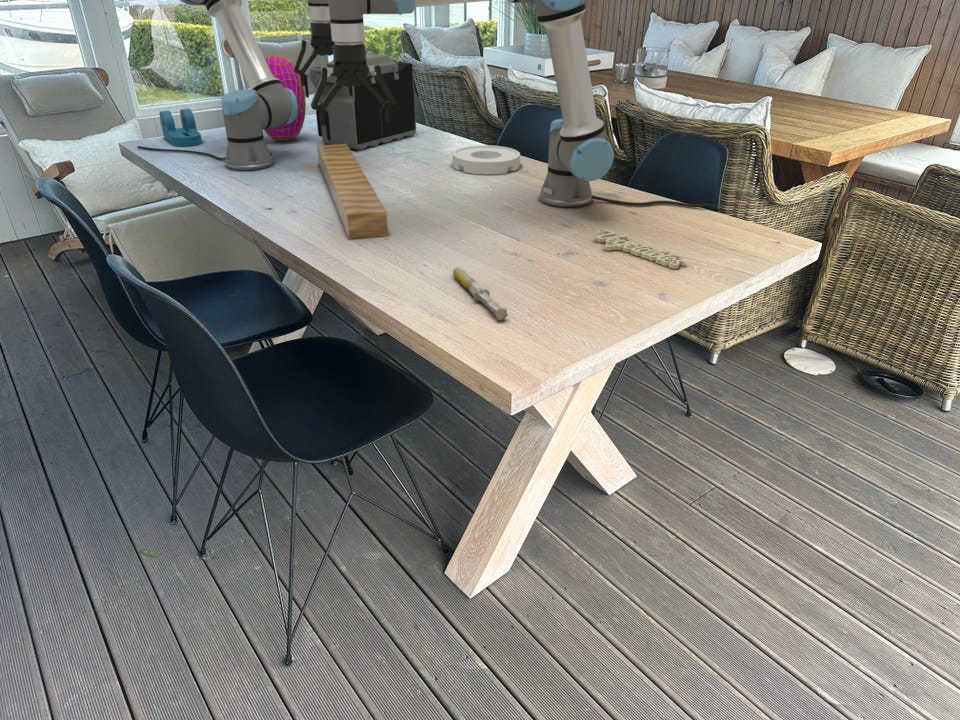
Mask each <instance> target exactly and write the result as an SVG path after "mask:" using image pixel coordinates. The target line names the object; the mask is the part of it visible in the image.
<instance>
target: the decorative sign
mask: <svg viewBox="0 0 960 720" xmlns="http://www.w3.org/2000/svg"><path fill="white" fill-rule="evenodd" d="M595 242H597V243H604V244H605V245H604V251H607V252H608V251H623V252H625V253H630V254H631V255H634V256H636V257H640V258H642V259H645V260H649V261H650V262H655V263H656V264H657V265H658V264H659V265H661V266H665V267H668V268H670V269H673V270H675V269H679V268H680V266H682V267H685V266H686V260H684V259H680V254H679V253H670V250H666V249H665V250H654V246H651V245H650V244H643V243H632V242H631V241H628V235H626V234H621V235H616V231H613V230H608V229H607V230H606V229H604V230H602V234H598V235H596V237H595Z"/></svg>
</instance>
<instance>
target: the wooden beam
mask: <svg viewBox="0 0 960 720" xmlns="http://www.w3.org/2000/svg"><path fill="white" fill-rule="evenodd" d="M316 148H317V157H318V165H319V168H320V170H321V172H322V175H323V177H324V180H325V182H326V185H327V188H328V189H329V192H330V195H331V197H332V201H333V203H334V205H335V207H336V210H337V212H338V215H339V217H340V219H341V222H342V225H343V227H344V229H345V232H346V234H347V237H348V240H356V239H365V238H366V239H367V238H375V237H377V238H378V237H386V236H388V235H389V231H388V229H389V228H388V217H387V215H388V214H387V210H386V208H385V207H384V205H383V203H382V202H381V200H380V198H379V197H378V194H377V193H376V191H375V190H374V188H373V186H372V184H371V182H370V181H369V180H368V178H367V176H366V174H365V173H364V171H363V169H362V168H361V166H360V164H359V162H358V161H357V159H356V158H355V155H354V154H353V152H352V151H351V148H349V147H348V145H347V144H333V145H332V144H319V145H316Z"/></svg>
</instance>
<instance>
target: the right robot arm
mask: <svg viewBox="0 0 960 720" xmlns="http://www.w3.org/2000/svg"><path fill="white" fill-rule="evenodd" d="M489 1H490V2H491V1H492V0H328V5H329V14H330V22H331V35H332V41H333V42H335V44H334V45H333V55H332V56H333V59H334V67H333V68H329V67H327V66H325V65H322V66H321V77H320V80H319V83H318V86H317V89H316V88H315V90H314V91H315V92H314V94H313V97H312V100H311V102H310V107H311V109H312V110H314V111H316V110H318V111H319V114H320V123H321V125H322V126H326V135H327V139H328V140H331V135H330V125H329V116H328V111H327V110H325V109H326V108H327V107H328V105H329V104H330V102H331V101H332V99H333V98H334V96H335V95H336V93H337V92H338V90H339V89H340V88H341V87H342V85H344V86H346V87H350V86H360V85H362V83H363V84H364V85H365V86H366V88H367V89H368V90H369V91H370V92H371V93H372V94H373V95H374V96H375V98H376V99H377V100H378V101H379V102H380V103H381V104H382V105H383V107H380V118H381V133H382V136H383V137H386V122H389V120H390V118H389V108H390V107H391V106H393V105H396V101H395V99H394V97H393V95H392V93H391V92H390V90H389V88H388V86H387V84H386V82H385V80H384V79H383V77H382V74H381V68H380V66H379V65H378V64H375V65H374V66H367V62H366V53H367V49H366V45H365V44H364V42H365V40H366V37H365V25H364V24H365V23H364V15H399V16H401V15H409V14H412V13H414V12H415V9H416V8H423V7H424V8H425V7H434V6H444V5H456V4H457V5H458V4H467V3H469V4H470V3H479V2H489ZM506 1H507V2H508V3H509V4H516V3H517V4H518V3H519V4H520V3H521V4H531V5H534V8H535V12H536V19H537V22H538V24H539V25H541V26H542V27H544V29H545V32H546V36H547V43H548V47H549V54H550V59H551V63H552V69H553V74H554V78H555V84H556V89H557V97H558V99H559V105H560V111H561V117H562V118H558V119H554V120H552V122H551V123H550V127H549V128H550V129H549V132H548V134H549V141H548V142H549V143H548V156H547V157H548V159H547V173H546V176H545V178H544V181H543V184H542V187H541V189H540V192H539V200H540V202H542V203H543V204H546V205H549V206H553V207H558V208H559V207H560V208H580V207H584V206H588V205H589V204H591V203H592V199H593V200H596V201H601V202H606V203H611V204H617V205H623V206H635V207H645V206H650V205H662V204H663V205H674V206H681V207H687V208H706V207H707V208H712V209H713V210H715V212H721V210H720V207H718V206H717V205H716V204H712V203H695V204H694V203H687V202H681V201H673V200H652V201H643V202H635V201H633V202H632V201H623V200H616V199H612V198H611V199H610V198H606V197H601V196H596V195H593V193H592V188H591V184H590V182H595V181H597V180H599V179H601V178H602V177H604V176H605V175H606V174H607V173H608V172H609V171H610V169H611V168H612V166H613V163H614V159H615V153H614V149H613V146H612V145H611V143H610V141H608V140H607V136H606V129H605V124H604V123H605V122H604V121H603V120H602V119H601V118H599V117H598V116H597V112H596V106H595V105H596V103H595V100H594V93H593V87H592V86H593V85H592V80H591V75H590V74H591V73H590V68H589V61H588V56H587V50H586V42H585V37H584V30H583V25H582V17H583V16H584V14H585V12H586V10H587V8H586V2H585V0H506ZM369 71H371V72H372V74H373V75H376V78H377V80H378V81H379V83H380V85H381V87H382V89H383V91H384V92H385V94H386V96H387V98H388V100H389V101H385V100H384V99H383V98H382V97H381V95H380V94H379V93H378V92H377V91H376V90H375V89H374V88H373V87H372V85H371V84H370V83H369V82H368V81H367V80H366V79H365V78H366V77H367V75H368V73H369ZM331 73H334V75H335V76H336V77H337V80H336V81H335V83H334V85H333V86H332V88H331V89H330V91H329V92H328V94H327V95H326V97H325V98H324V100H323V101H322V103H321V104H320V105H319V100H320V98H321V95H322V92H323V89H324V87H325V84H326V81H327V77H330V75H331Z"/></svg>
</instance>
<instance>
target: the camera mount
mask: <svg viewBox="0 0 960 720" xmlns="http://www.w3.org/2000/svg"><path fill="white" fill-rule="evenodd" d="M179 115H180V122H181V127H176V123H175V120H174V117H173V114H172V112H171V111H170V110H160V111H159V121H160V126H161V130H162V135H163V139H165V140H166V141H167V142H168V143H170V144H171V145H173V146H176V147H192V146H197V145H200V144H202V143H203V140H202V135H201V132H199V131H198V128H197V123H196V119H195V115H194V113H193V111H192V109H191V108H181V109H180V110H179Z"/></svg>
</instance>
